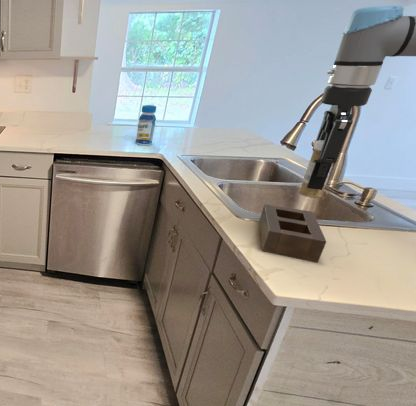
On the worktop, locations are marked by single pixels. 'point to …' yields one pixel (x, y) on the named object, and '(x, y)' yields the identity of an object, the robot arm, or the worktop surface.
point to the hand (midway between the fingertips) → (312, 185)
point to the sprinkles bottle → (315, 156)
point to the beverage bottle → (146, 125)
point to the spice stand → (291, 233)
